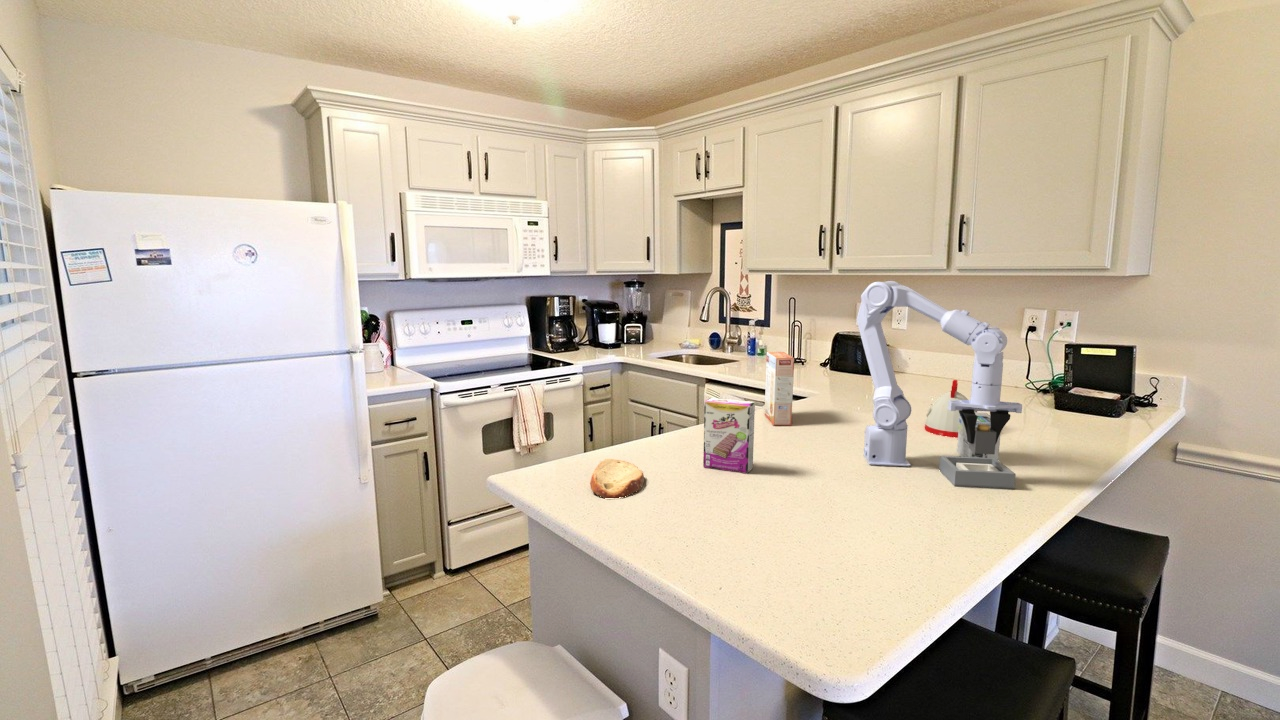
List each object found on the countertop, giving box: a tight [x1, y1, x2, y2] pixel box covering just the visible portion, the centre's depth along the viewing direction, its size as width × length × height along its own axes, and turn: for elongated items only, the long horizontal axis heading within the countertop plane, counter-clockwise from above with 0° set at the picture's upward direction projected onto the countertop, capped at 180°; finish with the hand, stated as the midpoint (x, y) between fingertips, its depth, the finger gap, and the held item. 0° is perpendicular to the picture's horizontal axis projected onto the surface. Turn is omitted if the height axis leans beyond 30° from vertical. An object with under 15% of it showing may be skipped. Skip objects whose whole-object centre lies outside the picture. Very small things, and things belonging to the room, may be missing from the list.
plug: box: [969, 424, 997, 454], centre depth 137 cm, size 4×4×6 cm
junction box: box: [938, 455, 1016, 490], centre depth 138 cm, size 12×11×4 cm
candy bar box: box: [702, 397, 756, 474], centre depth 146 cm, size 11×5×16 cm, turn 65°
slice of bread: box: [589, 458, 645, 499], centre depth 139 cm, size 18×18×4 cm
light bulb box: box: [956, 411, 1002, 461], centre depth 153 cm, size 11×7×11 cm, turn 169°
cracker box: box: [764, 351, 795, 427], centre depth 191 cm, size 14×6×21 cm, turn 179°
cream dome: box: [924, 379, 978, 439], centre depth 178 cm, size 14×14×15 cm
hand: (981, 442), depth 138 cm, fingers closed on plug, 4 cm apart
